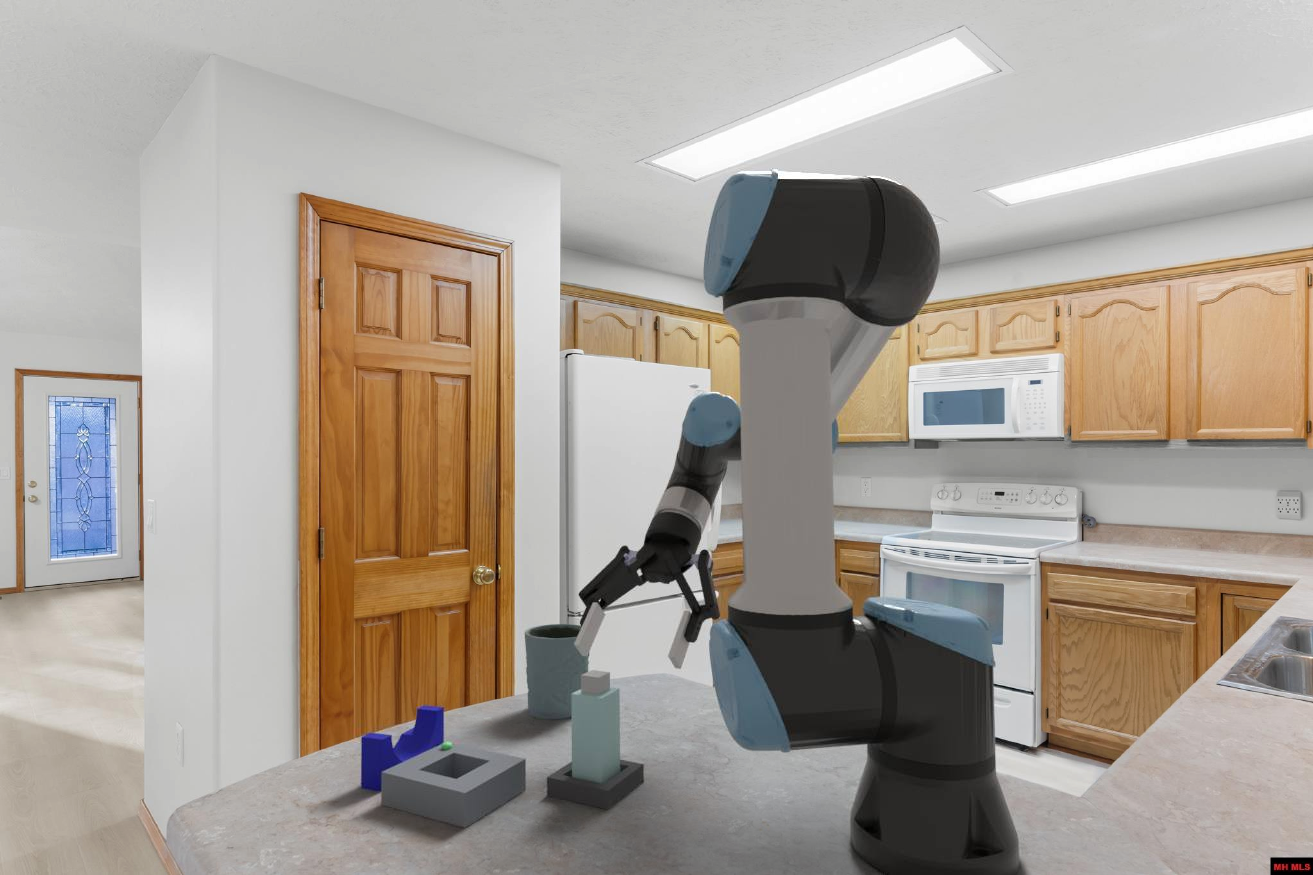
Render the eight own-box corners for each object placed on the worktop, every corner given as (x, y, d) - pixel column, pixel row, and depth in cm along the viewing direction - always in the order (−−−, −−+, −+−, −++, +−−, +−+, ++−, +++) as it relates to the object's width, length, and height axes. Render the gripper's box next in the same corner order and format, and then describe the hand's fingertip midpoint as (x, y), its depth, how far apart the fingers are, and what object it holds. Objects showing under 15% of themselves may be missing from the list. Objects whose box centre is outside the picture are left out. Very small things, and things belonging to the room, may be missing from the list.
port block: (525, 789, 85) (525, 754, 85) (465, 827, 76) (465, 788, 76) (446, 770, 91) (446, 737, 91) (381, 804, 82) (381, 767, 82)
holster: (643, 781, 87) (643, 763, 87) (608, 809, 80) (607, 790, 80) (586, 769, 91) (585, 752, 91) (547, 795, 84) (547, 776, 84)
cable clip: (414, 750, 98) (414, 704, 98) (443, 754, 97) (443, 707, 97) (350, 787, 87) (350, 735, 87) (382, 792, 85) (383, 739, 86)
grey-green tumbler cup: (526, 701, 118) (526, 624, 118) (591, 698, 119) (590, 622, 119) (522, 722, 108) (522, 639, 108) (593, 719, 109) (592, 636, 109)
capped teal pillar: (620, 784, 86) (619, 671, 87) (602, 798, 83) (601, 680, 83) (591, 778, 88) (590, 667, 89) (571, 791, 85) (571, 675, 85)
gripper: (766, 546, 104) (726, 684, 90) (613, 539, 115) (556, 661, 102) (752, 510, 99) (708, 650, 85) (594, 507, 111) (532, 629, 97)
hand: (625, 656), depth 93 cm, fingers open, 13 cm apart
